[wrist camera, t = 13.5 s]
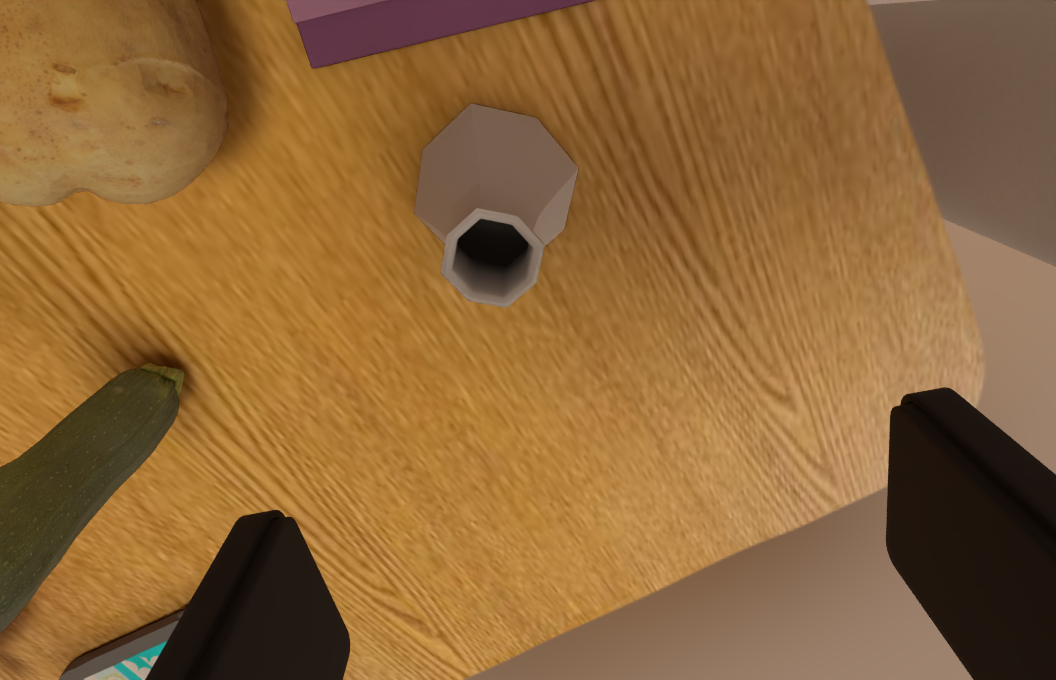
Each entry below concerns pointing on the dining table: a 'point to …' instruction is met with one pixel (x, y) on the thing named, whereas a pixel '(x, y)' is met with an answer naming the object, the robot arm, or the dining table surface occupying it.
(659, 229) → the dining table surface
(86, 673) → the smartphone
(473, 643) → the dining table surface
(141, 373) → the vegetable
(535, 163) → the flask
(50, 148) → the potato
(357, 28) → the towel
